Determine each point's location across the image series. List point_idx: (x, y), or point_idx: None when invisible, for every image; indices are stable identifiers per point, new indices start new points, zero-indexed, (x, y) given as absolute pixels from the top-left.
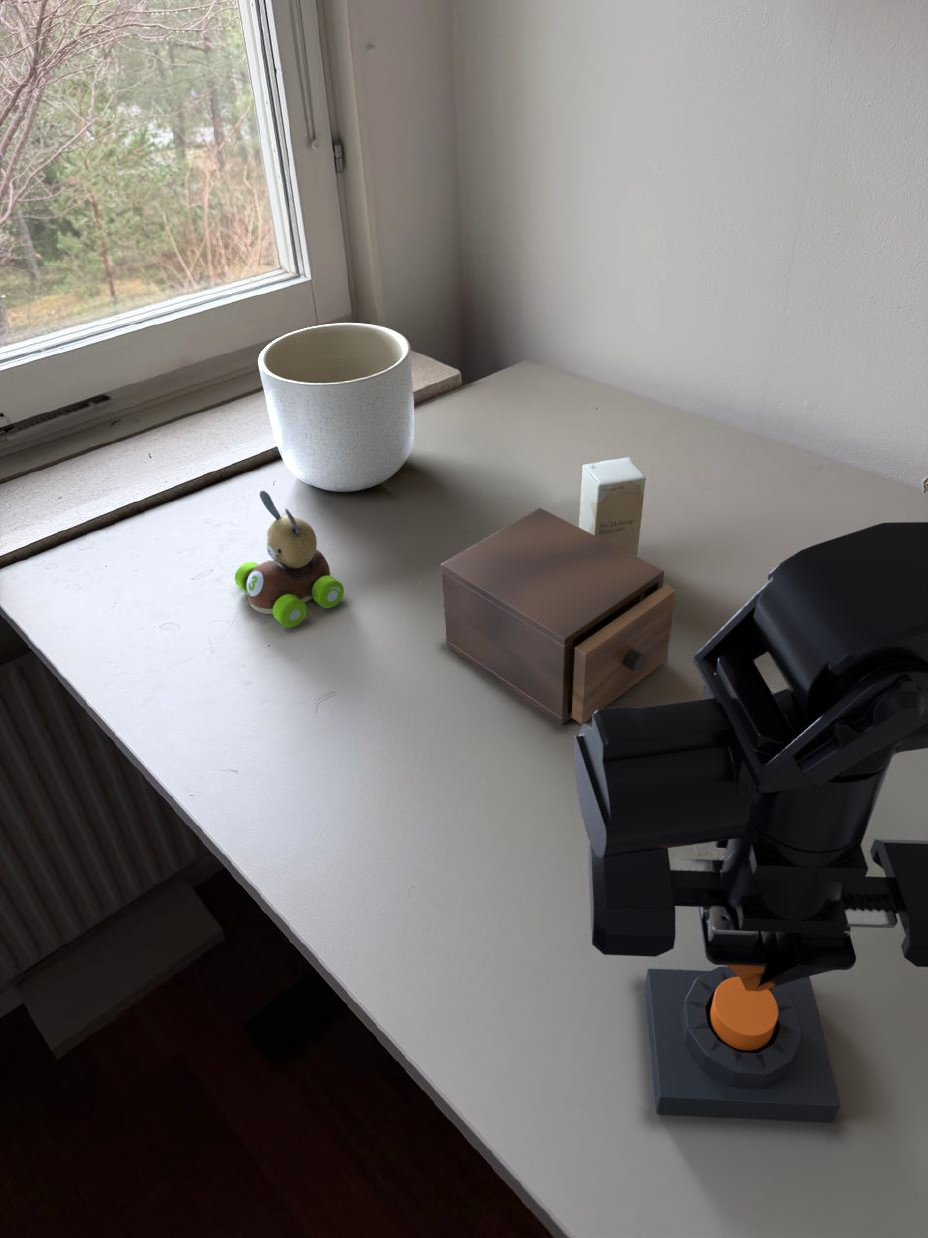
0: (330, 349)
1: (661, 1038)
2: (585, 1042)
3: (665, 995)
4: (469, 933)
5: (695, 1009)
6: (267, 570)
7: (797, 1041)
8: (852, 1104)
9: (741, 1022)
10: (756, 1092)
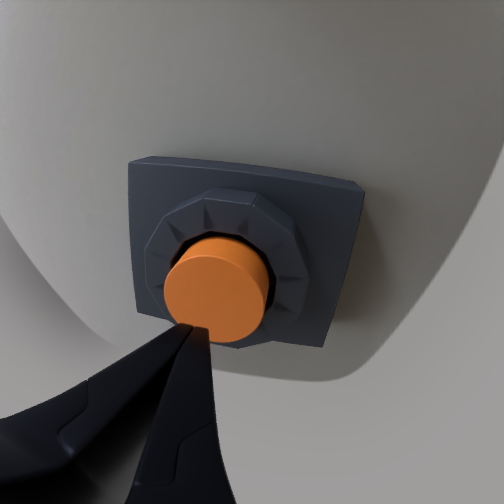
0: None
1: (138, 256)
2: (93, 218)
3: (146, 202)
4: (17, 110)
5: (156, 263)
6: None
7: (290, 322)
8: (349, 308)
9: (200, 323)
10: None
